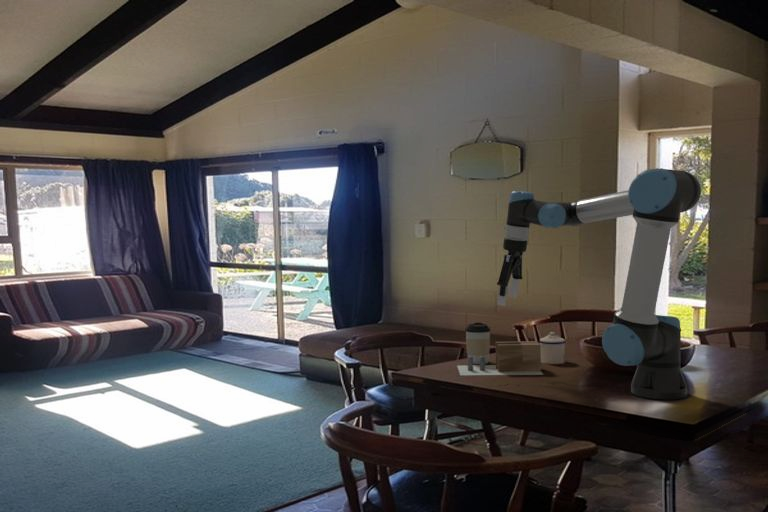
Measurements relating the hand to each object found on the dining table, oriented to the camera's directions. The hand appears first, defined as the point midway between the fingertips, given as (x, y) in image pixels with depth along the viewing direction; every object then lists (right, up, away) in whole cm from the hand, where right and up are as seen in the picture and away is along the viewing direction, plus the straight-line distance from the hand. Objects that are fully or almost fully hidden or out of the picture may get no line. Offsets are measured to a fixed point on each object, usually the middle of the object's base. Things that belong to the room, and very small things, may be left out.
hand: (507, 301), depth 223 cm
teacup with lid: (+19, -24, +18) cm, 36 cm away
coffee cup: (-7, -24, +19) cm, 32 cm away
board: (-2, -25, +4) cm, 25 cm away
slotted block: (+4, -23, +4) cm, 24 cm away
